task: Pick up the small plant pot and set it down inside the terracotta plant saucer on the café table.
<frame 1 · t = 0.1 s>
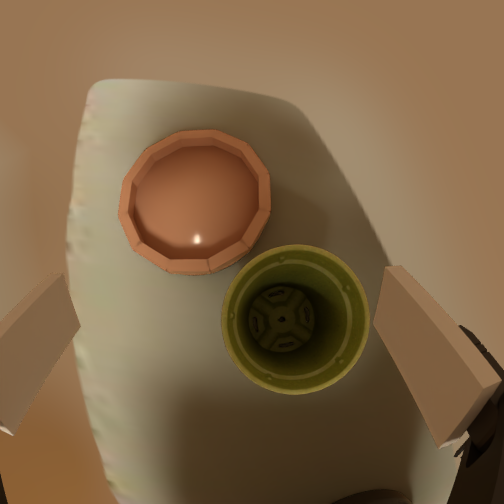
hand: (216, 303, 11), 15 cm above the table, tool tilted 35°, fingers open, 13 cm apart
plant pot: (282, 319, 26), on the table
terracotta plant saucer: (195, 203, 28), on the table
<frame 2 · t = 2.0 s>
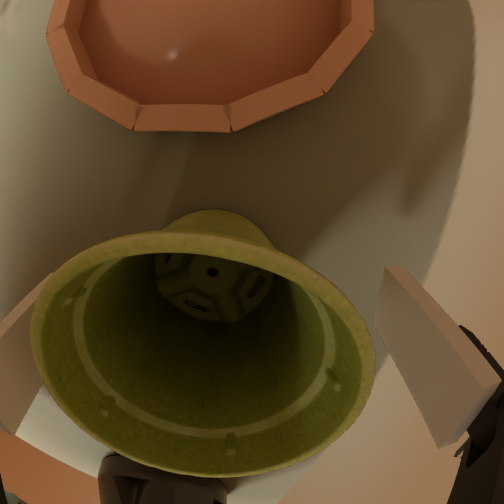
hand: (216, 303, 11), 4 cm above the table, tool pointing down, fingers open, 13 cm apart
plant pot: (215, 266, 15), on the table
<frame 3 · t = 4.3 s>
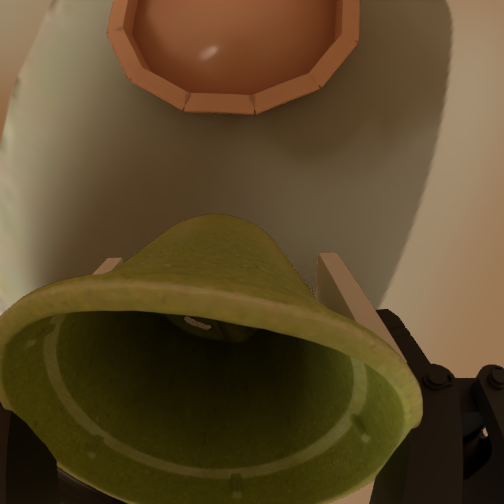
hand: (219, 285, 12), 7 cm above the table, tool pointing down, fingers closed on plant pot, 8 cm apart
plant pot: (219, 280, 13), point 7 cm above the table, touching gripper
terracotta plant saucer: (233, 12, 13), on the table
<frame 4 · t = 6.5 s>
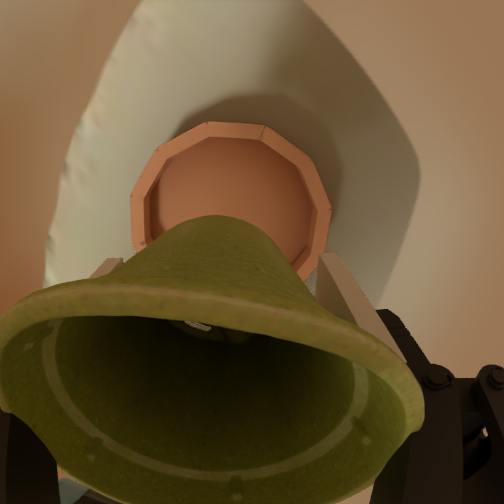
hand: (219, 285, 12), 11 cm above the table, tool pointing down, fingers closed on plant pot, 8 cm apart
plant pot: (219, 281, 13), point 10 cm above the table, touching gripper
terracotta plant saucer: (229, 216, 22), on the table
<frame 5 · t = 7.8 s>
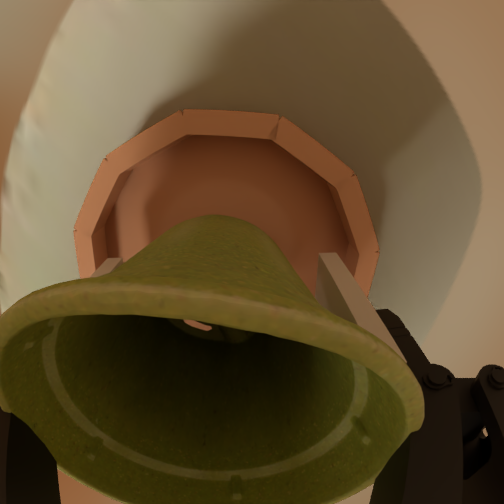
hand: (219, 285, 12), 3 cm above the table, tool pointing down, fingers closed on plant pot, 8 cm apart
plant pot: (219, 280, 13), point 3 cm above the table, touching gripper
terracotta plant saucer: (223, 256, 15), on the table
when the fingers open (3 cm above the table, at t = 8.8 s): plant pot stays where it is, resting on terracotta plant saucer.
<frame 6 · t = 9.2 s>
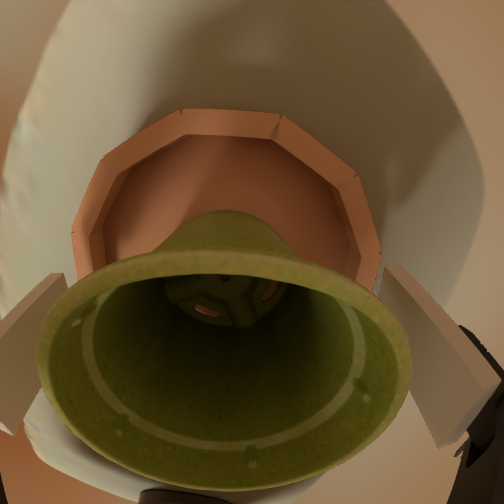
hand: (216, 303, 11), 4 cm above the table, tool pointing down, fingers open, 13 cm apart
plant pot: (227, 270, 14), point 1 cm above the table, touching terracotta plant saucer
terracotta plant saucer: (223, 258, 15), on the table
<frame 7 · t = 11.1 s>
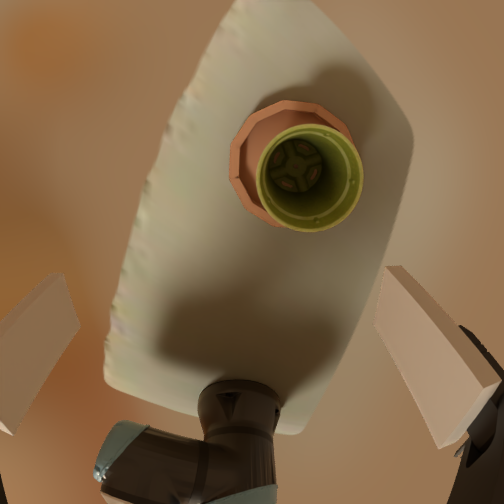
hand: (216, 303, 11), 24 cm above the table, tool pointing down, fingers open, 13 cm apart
plant pot: (295, 165, 32), point 1 cm above the table, touching terracotta plant saucer
terracotta plant saucer: (292, 163, 32), on the table
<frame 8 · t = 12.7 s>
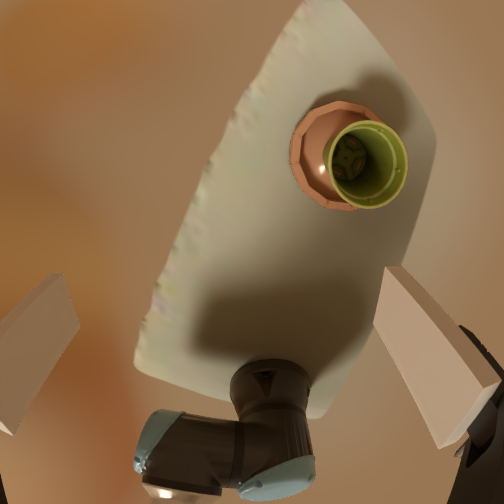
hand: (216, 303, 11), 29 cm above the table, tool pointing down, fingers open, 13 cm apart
plant pot: (344, 157, 35), point 1 cm above the table, touching terracotta plant saucer
terracotta plant saucer: (340, 154, 36), on the table
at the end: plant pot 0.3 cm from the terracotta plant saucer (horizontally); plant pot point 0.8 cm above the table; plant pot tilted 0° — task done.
